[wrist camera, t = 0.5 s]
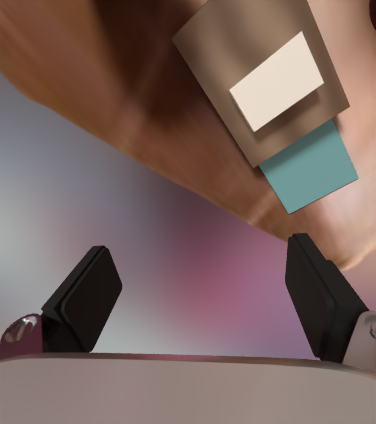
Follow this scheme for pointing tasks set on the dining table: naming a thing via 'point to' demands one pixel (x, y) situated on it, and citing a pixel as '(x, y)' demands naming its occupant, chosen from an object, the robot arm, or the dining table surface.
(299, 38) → the cream rectangular block
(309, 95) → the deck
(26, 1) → the dining table surface
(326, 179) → the mat
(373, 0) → the mug
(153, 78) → the dining table surface
